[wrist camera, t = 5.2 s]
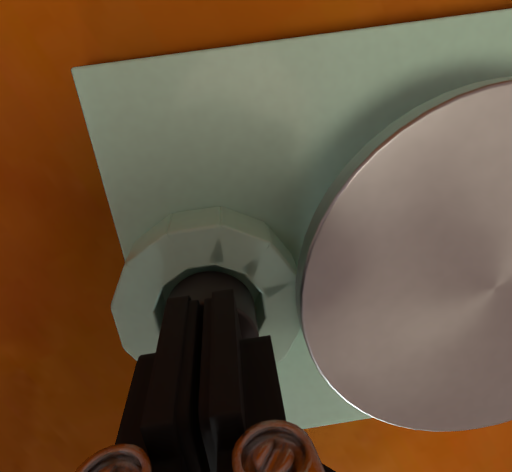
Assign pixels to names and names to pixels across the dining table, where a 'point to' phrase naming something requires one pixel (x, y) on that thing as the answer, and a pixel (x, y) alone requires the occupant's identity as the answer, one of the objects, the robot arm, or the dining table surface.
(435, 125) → the scale pan
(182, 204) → the scale
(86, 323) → the dining table surface
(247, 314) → the button
